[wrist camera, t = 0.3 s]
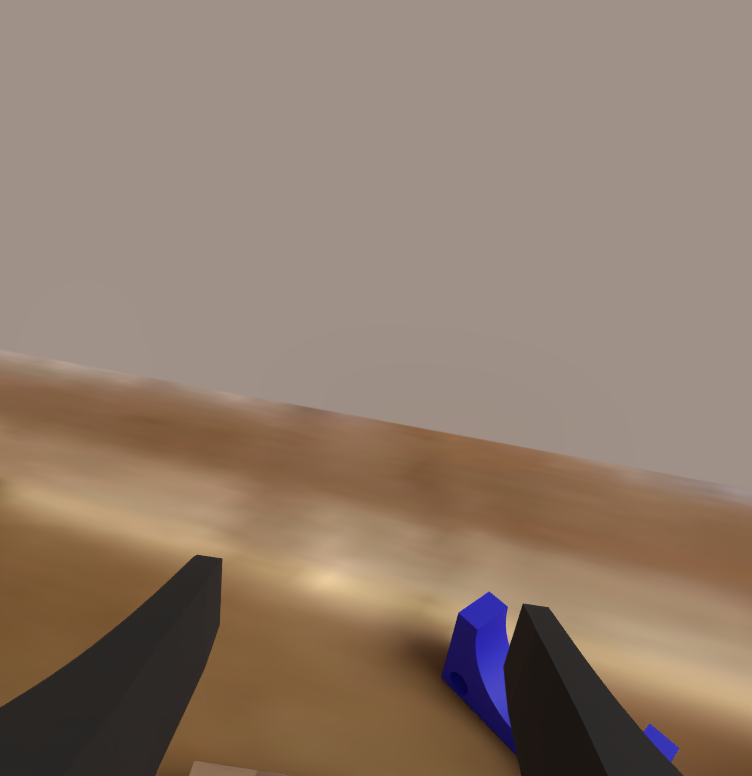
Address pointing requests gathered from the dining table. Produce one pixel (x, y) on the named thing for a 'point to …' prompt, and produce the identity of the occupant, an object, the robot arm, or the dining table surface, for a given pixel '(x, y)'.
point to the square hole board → (225, 770)
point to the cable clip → (495, 669)
